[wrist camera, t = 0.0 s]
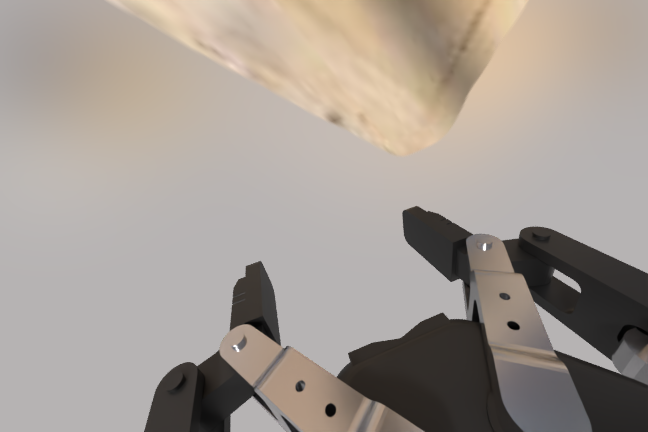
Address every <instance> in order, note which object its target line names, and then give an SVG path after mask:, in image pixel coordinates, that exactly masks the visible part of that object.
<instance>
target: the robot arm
mask: <svg viewBox="0 0 648 432" xmlns="http://www.w3.org/2000/svg"><path fill="white" fill-rule="evenodd" d="M403 228H404V236H405V239H406V241H407V242H408V244H409V245H410V246H411V247H413V248H414V249H415V250H416V251H417V252H418V253H419V254H421V255H422V256H423V257H424V258H425V259H426V260H427V261H428V262H429V263H430V264H432V265H433V266H434V267H435V268H436V269H437V270H438V271H439V272H440V273H442V274H443V275H444V276H445V277H446V278H447V279H448V280H449V281H450V282H452V281H455V280H457V279H461V280H463V293H464V301H465V309H466V317H467V320H463V319H450V320H449V319H448V318H447V317H446V316H445V315H444V313H440V314H438V315H436V316H433V317H431V318H429V319H426V320H424V321H422V322H420V323H419V324H418V325H416V326H415V327H414V328H413V329H411V330H410V331H409V332H408V333H407V334H405V335H404V336H403V337H402V338H400V339H394V340H387V341H381V342H374V343H371V344H368V345H366V346H364V347H361V348H359V349H357V350H354V351H352V352H350V353H348V355H349V358H350V361H351V362H350V363H349V364H347V365H346V366H345V367H344V368H343V369H342V371H341V372H340V373H339V374H338V376H337V377H335V376H334V375H332V374H331V373H329V372H328V371H326V370H325V369H323V368H322V367H320V366H319V365H317V364H316V363H314V362H313V361H311V360H310V359H309V358H307V357H305V356H304V355H303V354H301V353H300V352H298V351H296V350H295V349H294V348H292V347H290V346H287V347H286V348H282V347H281V343H280V334H279V327H278V318H277V310H276V302H275V295H274V290H273V286H272V284H271V281H270V279H269V277H268V275H267V273H266V271H265V268H264V266H263V264H262V262H261V261H259V262H256V263H253V264H251V265H248V266H246V277H244V278H241V279H239V280H238V281H237V283H236V285H235V287H234V290H233V301H232V302H233V303H232V304H233V305H232V313H231V323H230V332H229V333H227V335H226V336H225V337H224V338H223V340H222V342H221V344H220V349H219V351H218V352H216V354H214V355H213V356H211V357H210V358H208V359H207V360H206V361H204V362H203V363H201V364H200V365H198V366H196V365H195V364H194V363H191V362H186V363H183V364H180V365H178V366H176V367H175V368H173V369H172V370H171V371H170V372H169V373H168V374H167V375H166V376H165V377H164V378H163V379H162V380H161V382H160V383H159V385H158V387H157V389H156V391H155V394H154V398H153V402H152V405H151V409H150V412H149V416H148V420H147V423H146V427H145V431H144V432H230V414H231V413H233V412H234V411H235V410H236V409H237V408H239V407H240V406H241V405H242V404H243V403H245V402H246V401H247V400H248V399H249V398H251V397H253V398H254V399H255V400H256V401H257V402H258V403H259V404H260V405H261V406H262V407H263V408H264V409H265V410H266V411H267V412H268V413H269V414H270V415H271V416H272V417H273V418H274V419H275V420H276V421H277V422H278V423H279V424H280V425H281V427H283V429H284V430H285V431H286V432H648V274H647V273H645V272H643V271H641V270H639V269H636V268H635V267H632V266H630V265H628V264H626V263H624V262H621V261H619V260H617V259H615V258H613V257H611V256H609V255H606V254H604V253H602V252H600V251H598V250H596V249H593V248H591V247H589V246H587V245H585V244H583V243H580V242H578V241H576V240H573V239H572V238H570V237H567V236H565V235H563V234H561V233H559V232H557V231H554V230H552V229H548V228H544V227H528V228H524V229H522V230H521V232H520V235H519V239H512V240H504V241H501V240H500V239H498V238H497V237H495V236H492V235H487V234H475V235H473V234H471V233H469V232H468V231H466V230H465V229H463V228H461V227H459V226H458V225H456V224H455V223H452V222H451V221H450V220H448V219H446V218H445V217H443V216H441V215H439V214H437V213H433V212H430V211H428V212H426V211H425V210H423V209H421V208H420V207H418V206H415V207H412V208H409V209H407V210H404V211H403ZM555 269H556V270H558V271H560V272H561V273H563V274H565V275H566V276H568V277H570V278H572V279H573V280H574V281H576V282H577V283H578V284H579V286H580V288H581V293H579V292H578V291H576V290H575V289H573V288H571V287H570V286H568V285H566V284H565V283H563V282H562V281H560V280H558V279H557V278H555V277H554V276H553V273H554V270H555ZM534 302H535V303H537V304H538V305H539V306H541V307H542V308H543V309H545V310H546V311H547V312H548V313H550V314H551V315H552V316H554V317H555V318H556V319H558V320H559V321H560V322H562V323H563V324H564V325H566V326H567V327H568V328H569V329H571V330H572V331H573V332H575V333H576V334H578V335H579V336H580V337H581V338H583V339H584V340H585V341H587V342H588V343H589V344H590V345H592V346H593V347H594V348H596V349H597V350H598V351H600V352H601V353H602V354H604V355H605V356H606V357H608V358H609V359H610V360H612V361H613V364H614V366H615V367H616V368H617V370H618V371H619V372H620V373H621V374H622V375H621V374H619V373H616V372H613V371H610V370H608V369H605V368H602V367H600V366H597V365H594V364H591V363H588V362H586V361H583V360H580V359H578V358H575V357H572V356H569V355H567V354H564V353H561V352H558V351H556V350H553V347H552V345H551V343H550V340H549V338H548V335H547V333H546V330H545V328H544V325H543V323H542V320H541V318H540V315H539V313H538V311H537V308H536V306H535V303H534Z"/></svg>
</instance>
